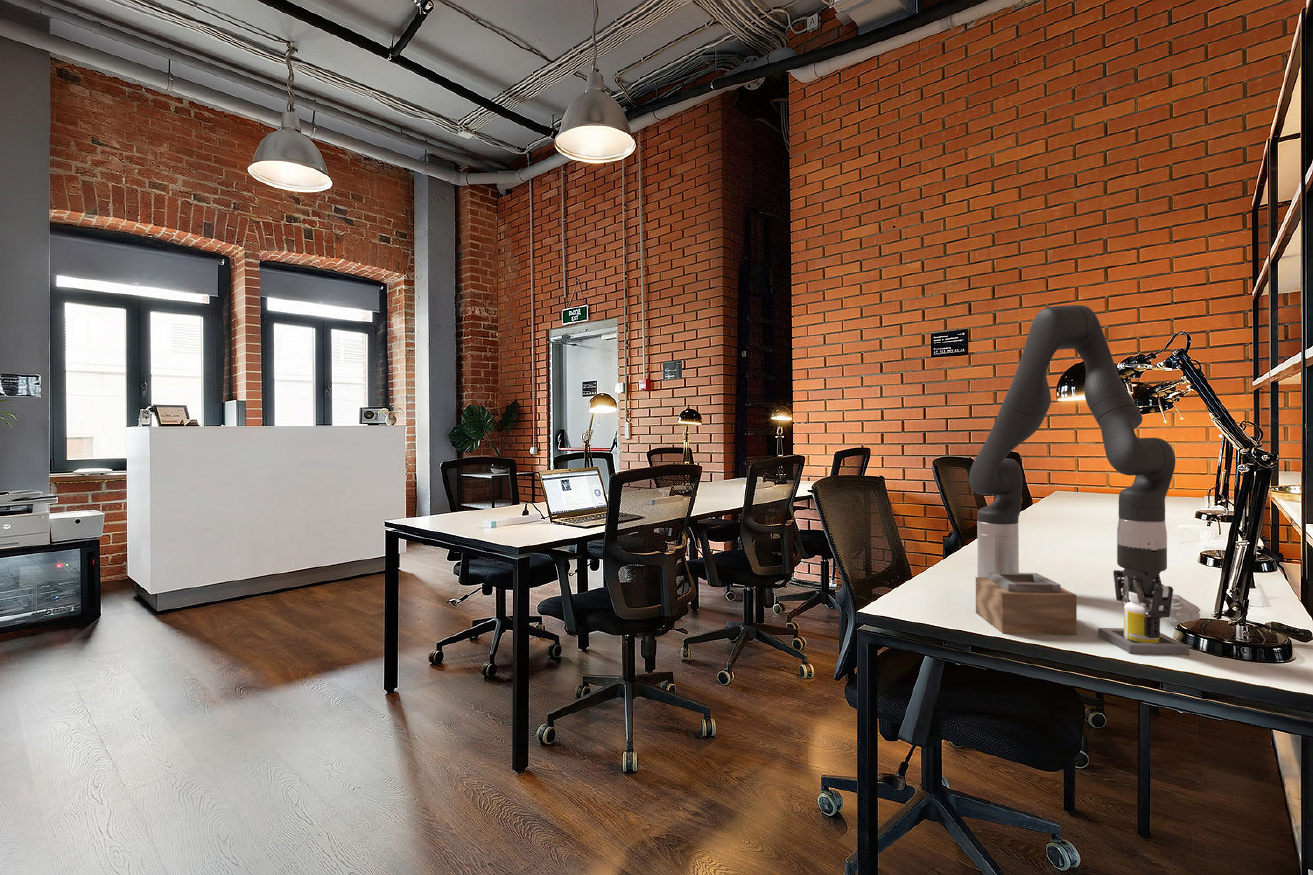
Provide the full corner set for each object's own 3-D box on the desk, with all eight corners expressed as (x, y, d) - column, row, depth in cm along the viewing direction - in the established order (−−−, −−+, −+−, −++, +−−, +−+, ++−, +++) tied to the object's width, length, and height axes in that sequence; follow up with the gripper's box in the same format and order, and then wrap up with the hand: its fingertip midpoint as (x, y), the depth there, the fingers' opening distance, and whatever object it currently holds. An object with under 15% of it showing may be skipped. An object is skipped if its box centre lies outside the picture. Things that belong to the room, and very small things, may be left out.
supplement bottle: (1166, 650, 117) (1166, 597, 117) (1133, 648, 118) (1133, 596, 118) (1149, 640, 123) (1149, 590, 122) (1118, 639, 124) (1118, 589, 123)
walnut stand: (975, 612, 142) (975, 570, 142) (1042, 613, 140) (1042, 571, 140) (1002, 633, 128) (1002, 586, 128) (1076, 634, 126) (1076, 587, 126)
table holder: (1098, 635, 126) (1098, 627, 126) (1152, 636, 125) (1152, 628, 125) (1129, 653, 116) (1129, 645, 116) (1189, 654, 115) (1189, 646, 115)
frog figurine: (1152, 623, 133) (1152, 590, 133) (1192, 626, 131) (1192, 592, 131) (1165, 632, 127) (1165, 597, 127) (1207, 635, 125) (1207, 600, 125)
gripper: (1098, 536, 128) (1098, 619, 128) (1144, 550, 113) (1144, 644, 114) (1138, 536, 127) (1138, 620, 127) (1190, 550, 112) (1190, 645, 113)
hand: (1141, 631), depth 120 cm, fingers closed on supplement bottle, 5 cm apart
